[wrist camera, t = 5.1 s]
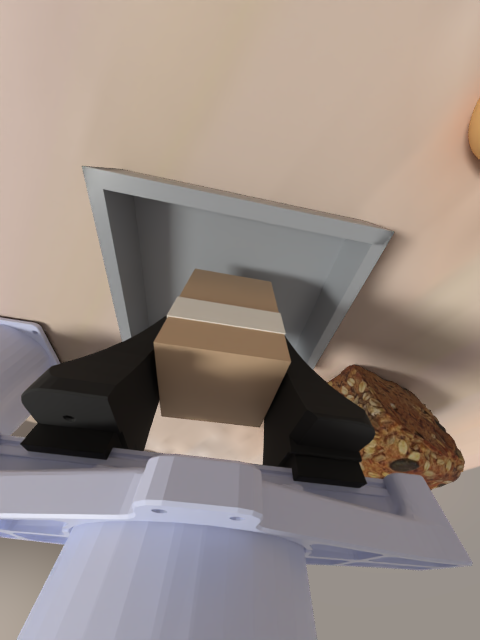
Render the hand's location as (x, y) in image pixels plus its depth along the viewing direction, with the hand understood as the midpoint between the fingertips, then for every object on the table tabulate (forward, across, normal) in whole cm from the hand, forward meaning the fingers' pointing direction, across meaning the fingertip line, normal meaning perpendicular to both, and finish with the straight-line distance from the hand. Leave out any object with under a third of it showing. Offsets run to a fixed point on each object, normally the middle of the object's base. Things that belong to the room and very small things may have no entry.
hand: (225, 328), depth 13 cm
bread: (+6, -16, +16) cm, 23 cm away
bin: (+5, 0, 0) cm, 5 cm away
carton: (+2, 0, 0) cm, 2 cm away
